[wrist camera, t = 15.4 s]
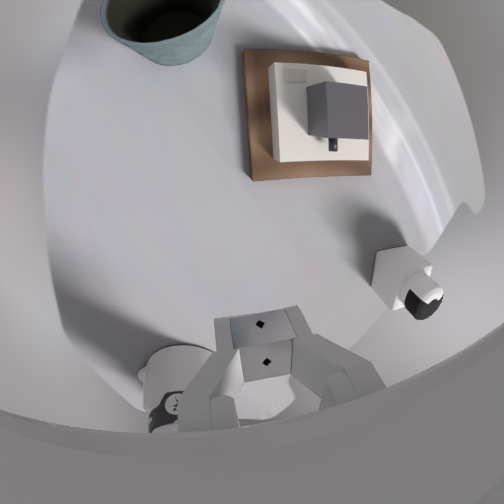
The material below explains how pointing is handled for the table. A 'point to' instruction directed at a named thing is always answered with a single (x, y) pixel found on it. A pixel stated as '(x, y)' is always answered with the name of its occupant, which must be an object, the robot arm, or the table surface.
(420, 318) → the medicine bottle
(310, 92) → the plug
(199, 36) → the teal cup
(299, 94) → the socket
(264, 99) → the mounting board
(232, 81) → the table surface
